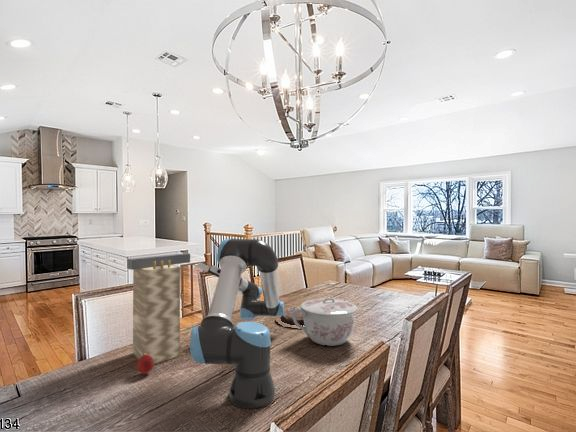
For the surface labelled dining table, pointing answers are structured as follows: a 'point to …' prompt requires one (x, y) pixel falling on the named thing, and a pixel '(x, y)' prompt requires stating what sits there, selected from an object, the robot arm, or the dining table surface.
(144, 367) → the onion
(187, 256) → the bar
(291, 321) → the chocolate cake
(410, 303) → the dining table surface
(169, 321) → the shelf stand
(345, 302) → the chamber pot
